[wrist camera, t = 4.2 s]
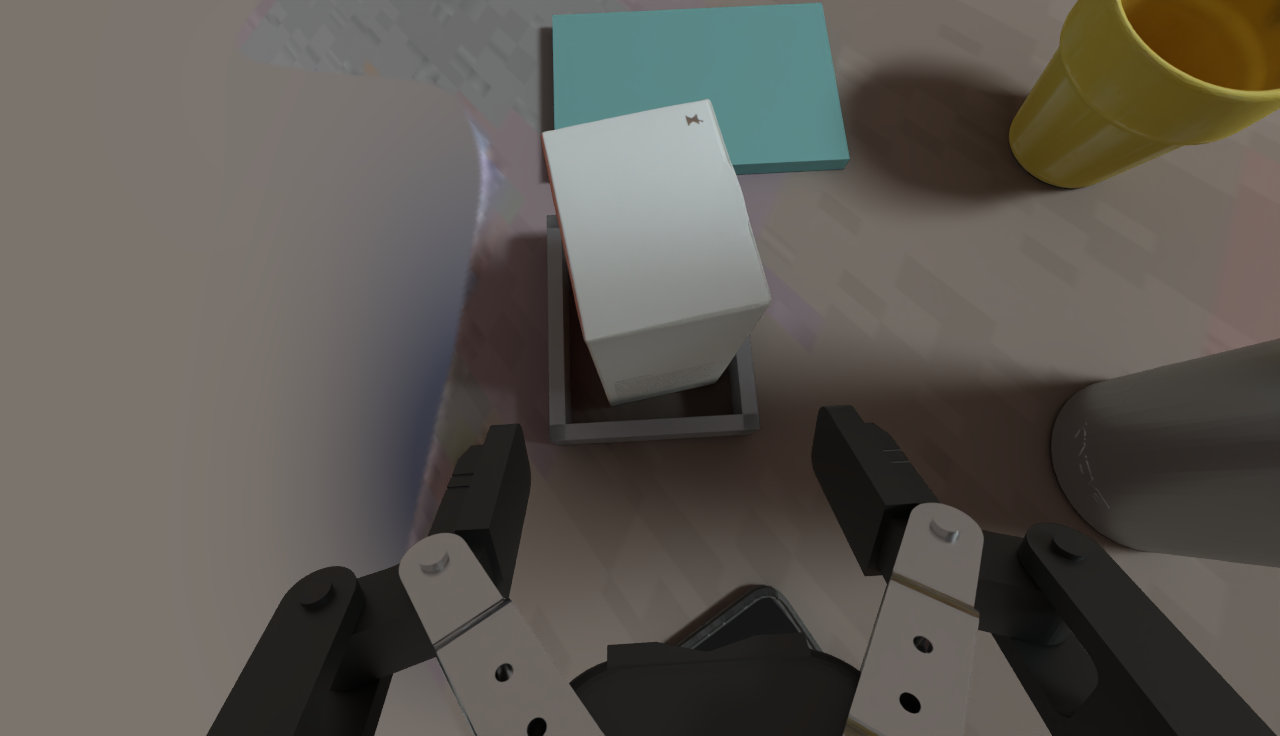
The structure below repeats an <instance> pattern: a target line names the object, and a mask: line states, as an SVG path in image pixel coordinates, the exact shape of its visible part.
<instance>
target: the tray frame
mask: <svg viewBox="0 0 1280 736" xmlns="http://www.w3.org/2000/svg"><path fill="white" fill-rule="evenodd" d="M547 279H548V354H549V430H550V441H551V442H552V443H554V444H556V445H575V444H593V443H611V442H628V441H646V440H663V439H681V438H699V437H716V436H734V435H750V434H752V433H754V432H756V431H758V430H759V429H760V422H759V414H758V405H757V396H756V387H755V378H754V369H753V361H752V352H751V343H750V334H749V335H748V337H747V338H746V340H745V341H744V343H743V344H742V346H741V347H740V349H739V350H738V351H737V353H736V354H735V356H734V357H733V359H732V360H731V362H730V363H729V365H728V367H729V377H730V387H731V397H732V407H733V415H719V416H701V417H684V418H666V419H648V420H630V421H612V422H595V423H577V424H572V416H571V374H570V332H569V290H568V266H567V262H566V257H565V253H564V248H563V243H562V239H561V234H560V229H559V224H558V220H557V215H547Z"/></svg>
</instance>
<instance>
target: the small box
mask: <svg viewBox="0 0 1280 736" xmlns="http://www.w3.org/2000/svg"><path fill="white" fill-rule="evenodd" d="M541 142H542V148H543V153H544V158H545V163H546V167H547V172H548V177H549V182H550V187H551V192H552V197H553V201H554V206H555V210H556V215H557V220H558V224H559V229H560V234H561V239H562V243H563V248H564V253H565V257H566V262H567V266H568V271H569V275H570V280H571V284H572V289H573V294H574V299H575V304H576V308H577V313H578V317H579V321H580V325H581V330H582V334H583V338H584V341H585V342H586V344H587V346H588V349H589V351H590V354H591V357H592V359H593V362H594V364H595V367H596V370H597V372H598V375H599V377H600V380H601V382H602V385H603V387H604V390H605V393H606V396H607V398H608V401H609V404H610V406H617V405H621V404H625V403H630V402H634V401H639V400H643V399H648V398H652V397H657V396H661V395H665V394H670V393H674V392H679V391H683V390H688V389H692V388H697V387H701V386H706V385H710V384H714V383H716V382H717V380H718V379H719V378H720V376H721V375H722V373H723V372H724V370H725V369H726V368H727V366H728V365H729V363H730V362H731V360H732V359H733V357H734V356H735V354H736V353H737V351H738V350H739V349H740V347H741V346H742V344H743V343H744V341H745V340H746V338H747V337H748V335H749V334H750V332H751V331H752V329H753V328H754V326H755V325H756V323H757V322H758V321H759V319H760V318H761V316H762V315H763V313H764V312H765V311H766V309H767V308H768V307H769V305H770V304H771V294H770V291H769V287H768V283H767V280H766V276H765V273H764V269H763V266H762V262H761V259H760V255H759V252H758V249H757V246H756V242H755V239H754V235H753V232H752V228H751V225H750V222H749V218H748V214H747V210H746V206H745V202H744V198H743V194H742V191H741V188H740V185H739V182H738V179H737V176H736V173H735V170H734V168H733V166H732V164H731V161H730V158H729V156H728V152H727V149H726V146H725V143H724V140H723V137H722V134H721V131H720V128H719V125H718V122H717V119H716V116H715V113H714V109H713V106H712V103H711V101H710V100H709V99H705V100H701V101H696V102H690V103H684V104H678V105H673V106H668V107H662V108H657V109H652V110H647V111H642V112H637V113H632V114H627V115H622V116H618V117H613V118H608V119H603V120H599V121H594V122H589V123H584V124H579V125H574V126H570V127H565V128H561V129H556V130H551V131H546V132H543V133H542V134H541Z"/></svg>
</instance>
